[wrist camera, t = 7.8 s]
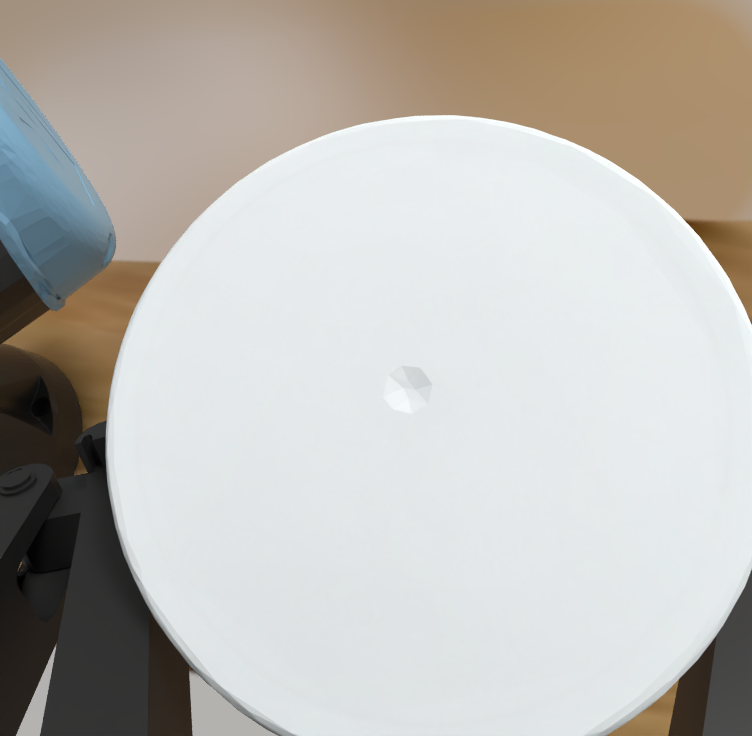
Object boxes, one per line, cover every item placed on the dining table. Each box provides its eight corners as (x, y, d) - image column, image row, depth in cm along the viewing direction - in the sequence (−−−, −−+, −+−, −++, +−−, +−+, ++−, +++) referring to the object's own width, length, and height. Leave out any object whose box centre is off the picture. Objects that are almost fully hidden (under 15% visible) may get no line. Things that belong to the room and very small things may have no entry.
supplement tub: (586, 408, 20) (911, 217, 6) (497, 629, 19) (667, 1032, 5) (379, 321, 23) (279, 32, 8) (283, 513, 21) (-39, 551, 7)
